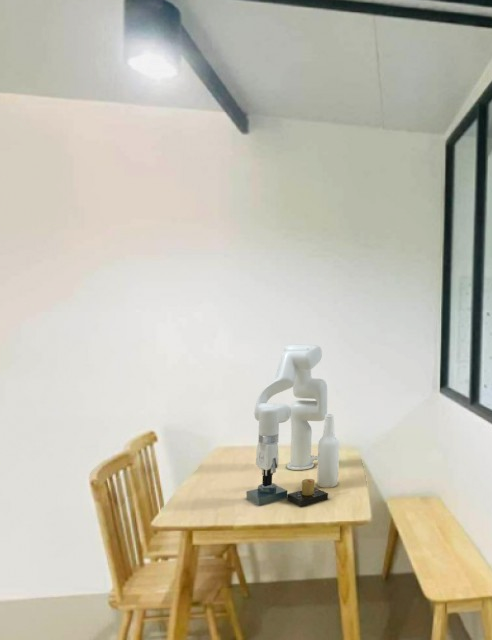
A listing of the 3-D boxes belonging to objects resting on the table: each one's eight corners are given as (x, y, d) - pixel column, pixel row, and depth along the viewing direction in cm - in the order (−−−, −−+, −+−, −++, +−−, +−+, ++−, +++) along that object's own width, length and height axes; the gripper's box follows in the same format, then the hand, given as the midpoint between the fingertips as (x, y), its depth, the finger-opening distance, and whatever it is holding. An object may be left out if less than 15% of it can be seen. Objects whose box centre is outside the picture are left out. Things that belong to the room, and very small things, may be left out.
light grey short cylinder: (269, 487, 201) (269, 482, 201) (274, 490, 199) (274, 485, 199) (259, 490, 199) (260, 484, 199) (264, 492, 196) (265, 487, 196)
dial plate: (313, 493, 206) (314, 486, 206) (327, 499, 199) (328, 492, 199) (287, 500, 197) (287, 493, 197) (301, 507, 190) (301, 500, 190)
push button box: (274, 491, 206) (274, 479, 206) (287, 498, 199) (287, 485, 200) (246, 498, 198) (246, 486, 198) (258, 506, 191) (258, 492, 191)
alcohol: (337, 487, 213) (339, 416, 213) (316, 488, 212) (318, 417, 212) (338, 480, 222) (340, 412, 222) (317, 481, 220) (319, 413, 221)
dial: (299, 493, 198) (299, 479, 198) (309, 490, 202) (310, 477, 202) (306, 496, 195) (306, 482, 195) (316, 493, 198) (316, 480, 198)
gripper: (250, 436, 201) (249, 482, 201) (269, 443, 191) (267, 492, 191) (268, 434, 207) (266, 478, 206) (286, 440, 196) (285, 487, 196)
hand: (267, 485), depth 198 cm, fingers closed
